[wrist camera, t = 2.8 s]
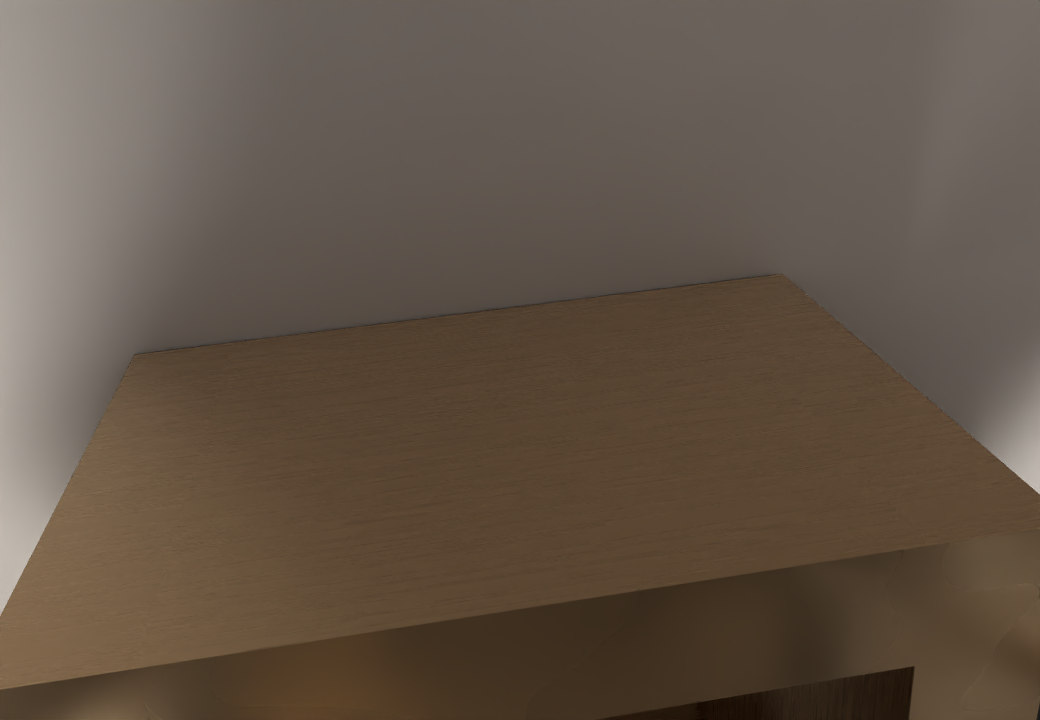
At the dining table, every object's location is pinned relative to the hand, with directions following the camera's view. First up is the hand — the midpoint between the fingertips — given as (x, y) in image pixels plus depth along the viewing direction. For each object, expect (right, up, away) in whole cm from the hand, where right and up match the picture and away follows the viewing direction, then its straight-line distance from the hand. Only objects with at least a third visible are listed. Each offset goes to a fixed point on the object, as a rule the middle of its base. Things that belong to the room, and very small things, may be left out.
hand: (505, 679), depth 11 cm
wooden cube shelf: (0, +1, +1) cm, 2 cm away
